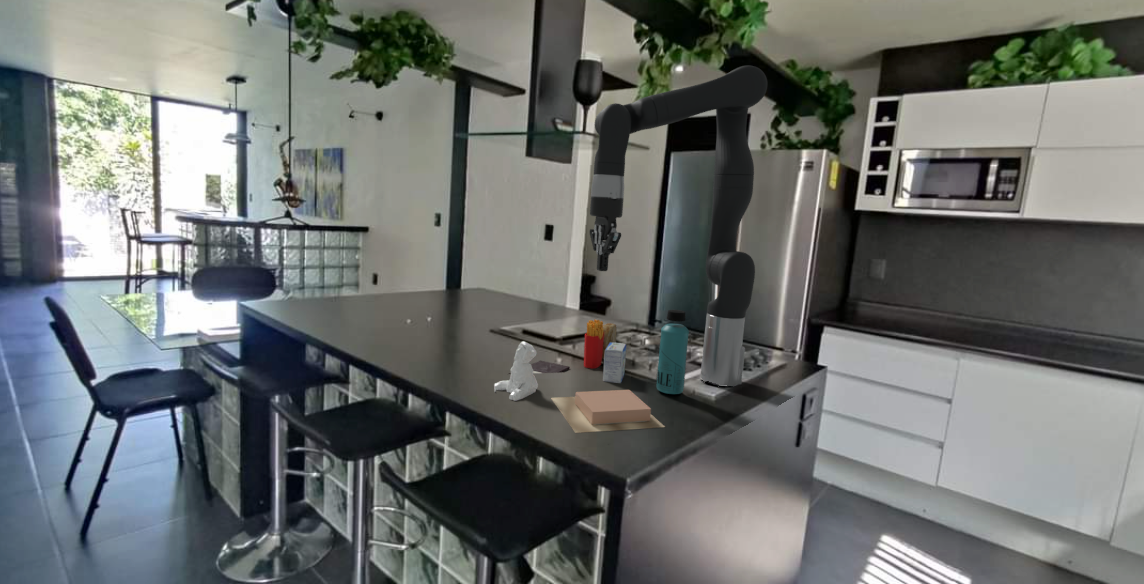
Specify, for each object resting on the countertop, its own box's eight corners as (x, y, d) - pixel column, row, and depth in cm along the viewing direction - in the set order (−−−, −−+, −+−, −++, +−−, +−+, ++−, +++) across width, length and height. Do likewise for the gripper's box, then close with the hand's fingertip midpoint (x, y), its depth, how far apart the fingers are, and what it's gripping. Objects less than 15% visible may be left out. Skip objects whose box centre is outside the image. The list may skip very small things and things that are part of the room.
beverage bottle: (685, 393, 123) (693, 309, 120) (681, 402, 117) (689, 314, 114) (657, 389, 126) (664, 306, 122) (652, 397, 119) (659, 310, 116)
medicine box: (620, 386, 126) (623, 351, 125) (602, 384, 127) (604, 349, 125) (624, 376, 134) (626, 343, 132) (606, 374, 134) (609, 341, 133)
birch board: (628, 397, 118) (628, 394, 118) (664, 430, 101) (665, 426, 101) (550, 401, 113) (550, 397, 113) (575, 436, 96) (575, 432, 96)
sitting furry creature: (490, 391, 117) (493, 338, 116) (524, 385, 123) (526, 334, 121) (512, 405, 110) (514, 349, 108) (546, 398, 115) (549, 344, 113)
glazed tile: (629, 389, 113) (651, 408, 103) (628, 401, 114) (649, 422, 103) (575, 392, 110) (592, 412, 99) (574, 404, 110) (591, 425, 100)
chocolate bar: (569, 366, 137) (532, 384, 122) (569, 370, 137) (531, 388, 122) (540, 360, 142) (500, 377, 126) (540, 363, 142) (500, 380, 126)
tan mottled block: (604, 352, 155) (606, 319, 153) (616, 354, 154) (619, 321, 152) (594, 361, 145) (597, 326, 144) (607, 363, 144) (610, 328, 143)
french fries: (594, 370, 138) (597, 325, 136) (580, 367, 139) (583, 322, 137) (604, 362, 145) (607, 319, 144) (590, 359, 147) (593, 317, 145)
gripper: (581, 195, 127) (576, 267, 129) (604, 194, 114) (599, 274, 117) (609, 197, 129) (604, 267, 132) (635, 197, 117) (629, 274, 120)
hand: (602, 270), depth 125 cm, fingers closed
